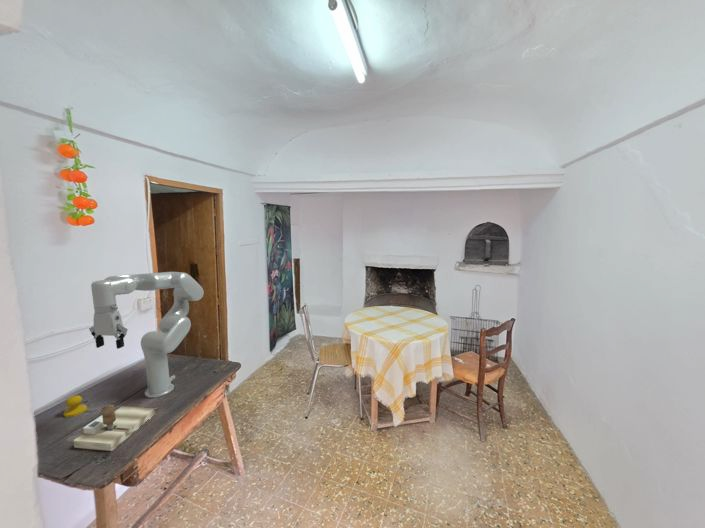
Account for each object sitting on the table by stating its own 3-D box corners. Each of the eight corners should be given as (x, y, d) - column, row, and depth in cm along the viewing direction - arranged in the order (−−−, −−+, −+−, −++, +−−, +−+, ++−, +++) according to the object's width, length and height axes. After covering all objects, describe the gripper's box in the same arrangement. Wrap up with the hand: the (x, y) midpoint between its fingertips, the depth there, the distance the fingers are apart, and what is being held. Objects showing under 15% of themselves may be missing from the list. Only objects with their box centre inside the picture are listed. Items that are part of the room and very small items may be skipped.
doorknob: (78, 405, 146) (91, 408, 144) (59, 415, 138) (72, 418, 136) (76, 390, 145) (89, 393, 143) (56, 400, 137) (69, 403, 135)
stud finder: (102, 420, 130) (101, 415, 130) (112, 421, 130) (111, 415, 129) (84, 433, 122) (83, 427, 122) (94, 434, 122) (93, 428, 121)
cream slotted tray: (122, 412, 140) (122, 406, 140) (154, 414, 139) (154, 408, 138) (74, 447, 119) (73, 440, 118) (111, 450, 117) (110, 443, 117)
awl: (111, 431, 128) (107, 404, 126) (119, 431, 128) (116, 405, 126) (102, 437, 124) (98, 410, 122) (111, 438, 124) (107, 411, 122)
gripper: (131, 307, 134) (135, 344, 136) (95, 306, 136) (100, 342, 138) (116, 312, 127) (121, 351, 129) (79, 310, 129) (84, 349, 131)
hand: (110, 347), depth 134 cm, fingers open, 9 cm apart
